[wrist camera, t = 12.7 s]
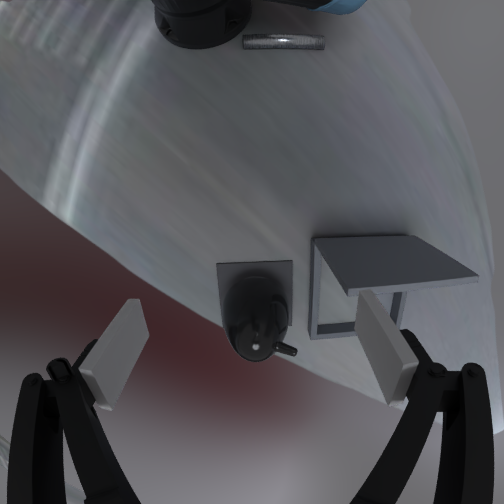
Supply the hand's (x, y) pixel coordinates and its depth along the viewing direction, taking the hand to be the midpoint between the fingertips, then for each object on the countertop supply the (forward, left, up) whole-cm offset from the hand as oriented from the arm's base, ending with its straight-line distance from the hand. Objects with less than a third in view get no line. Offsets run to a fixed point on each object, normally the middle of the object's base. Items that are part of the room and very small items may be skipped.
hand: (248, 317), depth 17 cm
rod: (-26, +6, -28) cm, 39 cm away
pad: (+13, 0, -29) cm, 32 cm away
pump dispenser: (+13, 0, -29) cm, 32 cm away
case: (+12, +17, -29) cm, 36 cm away
